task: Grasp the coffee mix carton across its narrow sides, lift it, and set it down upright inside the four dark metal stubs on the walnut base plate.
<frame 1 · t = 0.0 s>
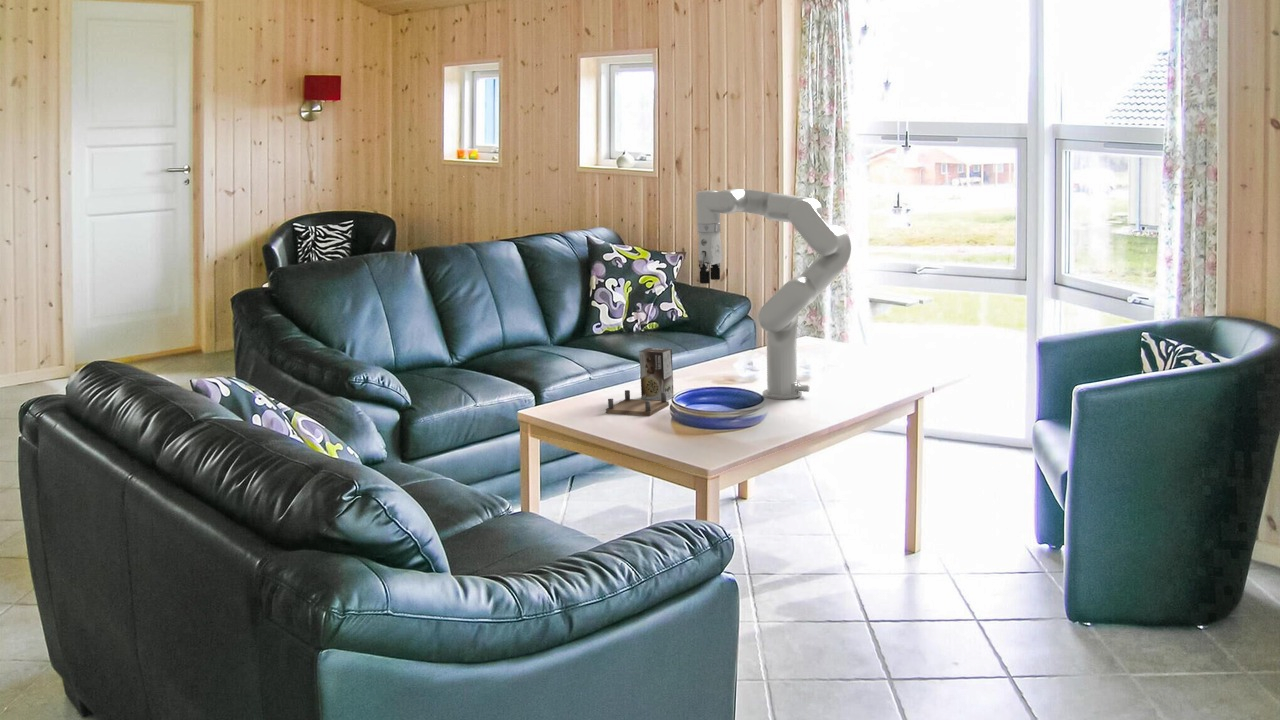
hand: (710, 281, 393), 37 cm above the table, tool pointing down, fingers open, 9 cm apart
coffee box: (657, 398, 393), on the table
stub cradle: (637, 409, 379), on the table
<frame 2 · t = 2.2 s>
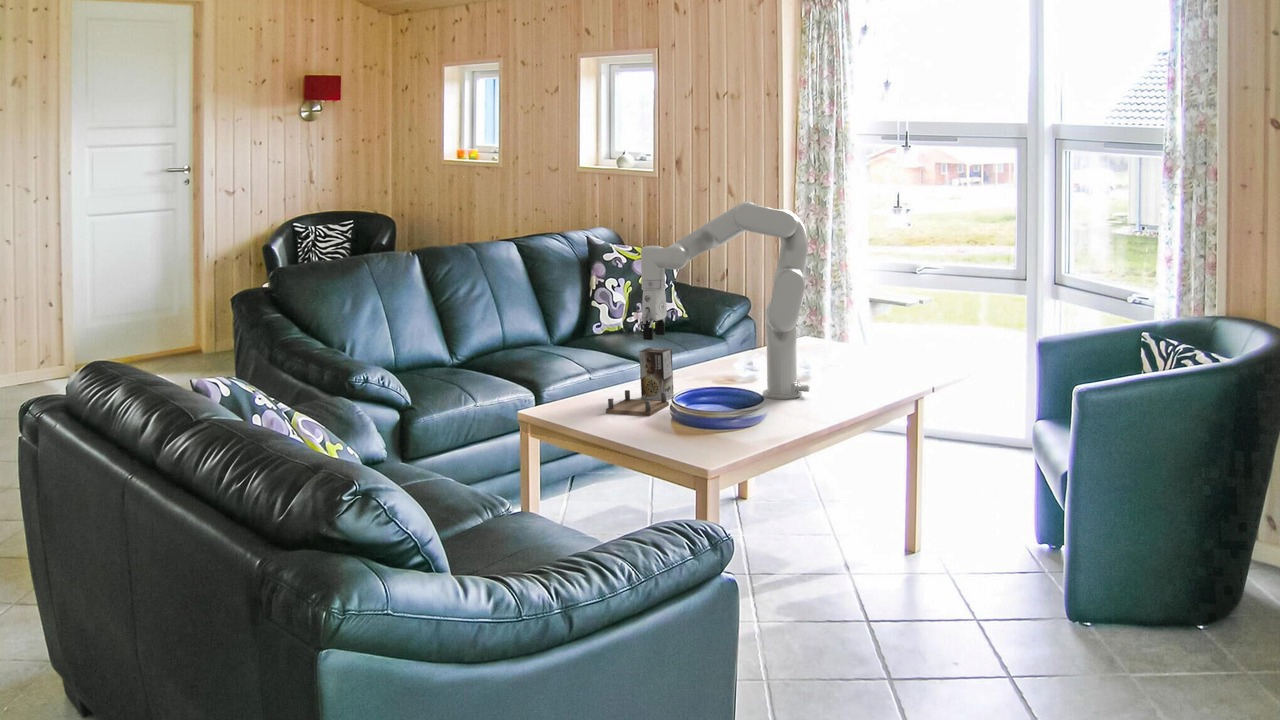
hand: (654, 337, 390), 20 cm above the table, tool pointing down, fingers open, 9 cm apart
nothing on the table moved.
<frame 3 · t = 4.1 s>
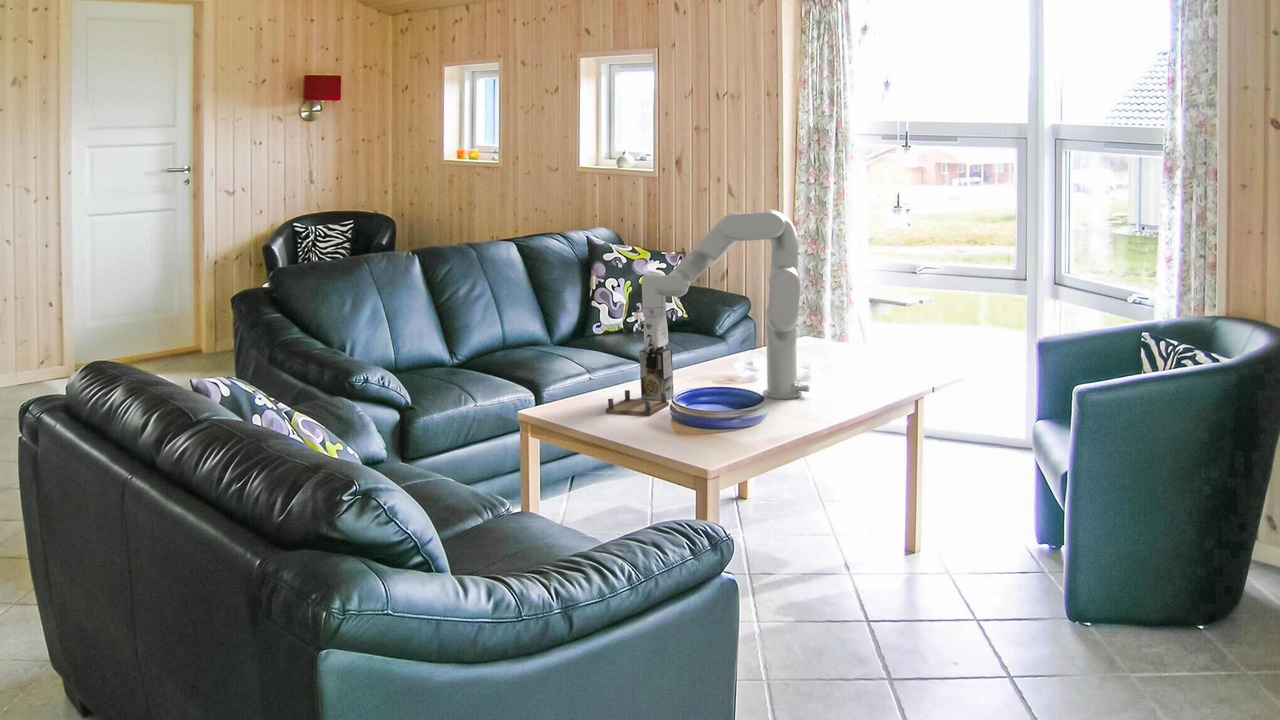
hand: (656, 365, 391), 11 cm above the table, tool pointing down, fingers closed on coffee box, 6 cm apart
coffee box: (657, 398, 393), on the table, touching gripper
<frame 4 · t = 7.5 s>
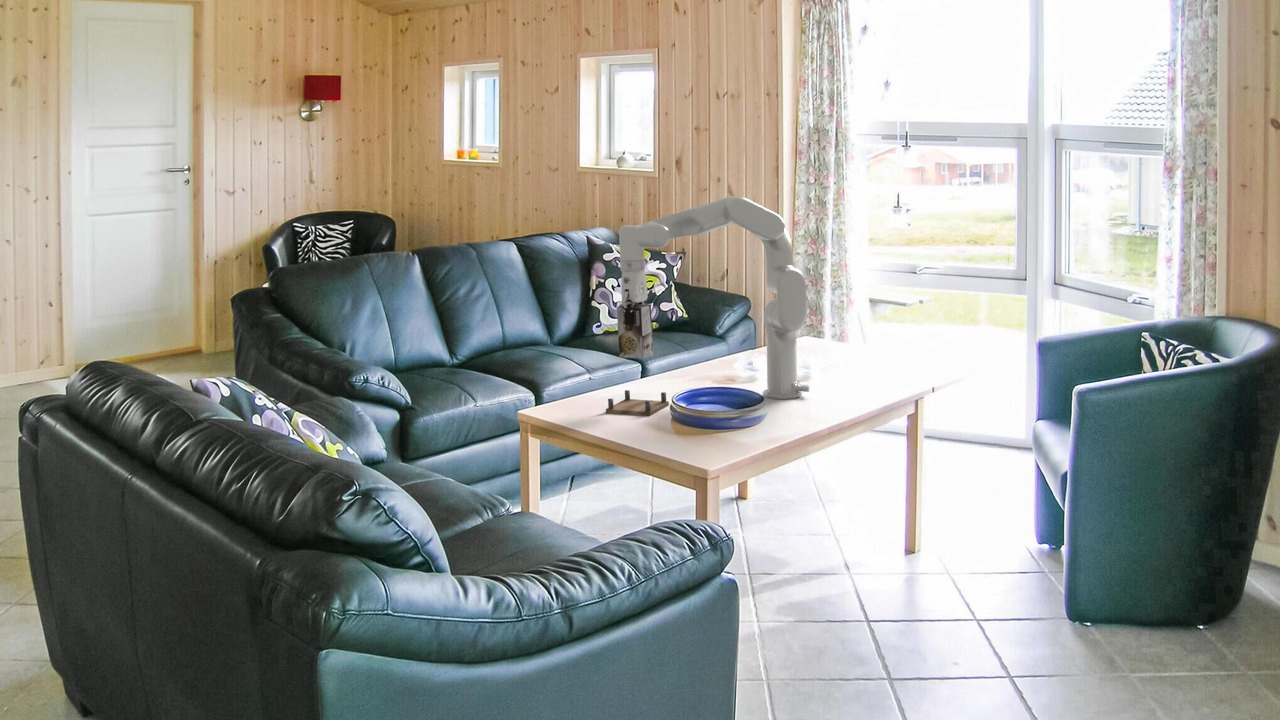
hand: (634, 322, 374), 28 cm above the table, tool pointing down, fingers closed on coffee box, 6 cm apart
coffee box: (636, 357, 376), point 17 cm above the table, touching gripper
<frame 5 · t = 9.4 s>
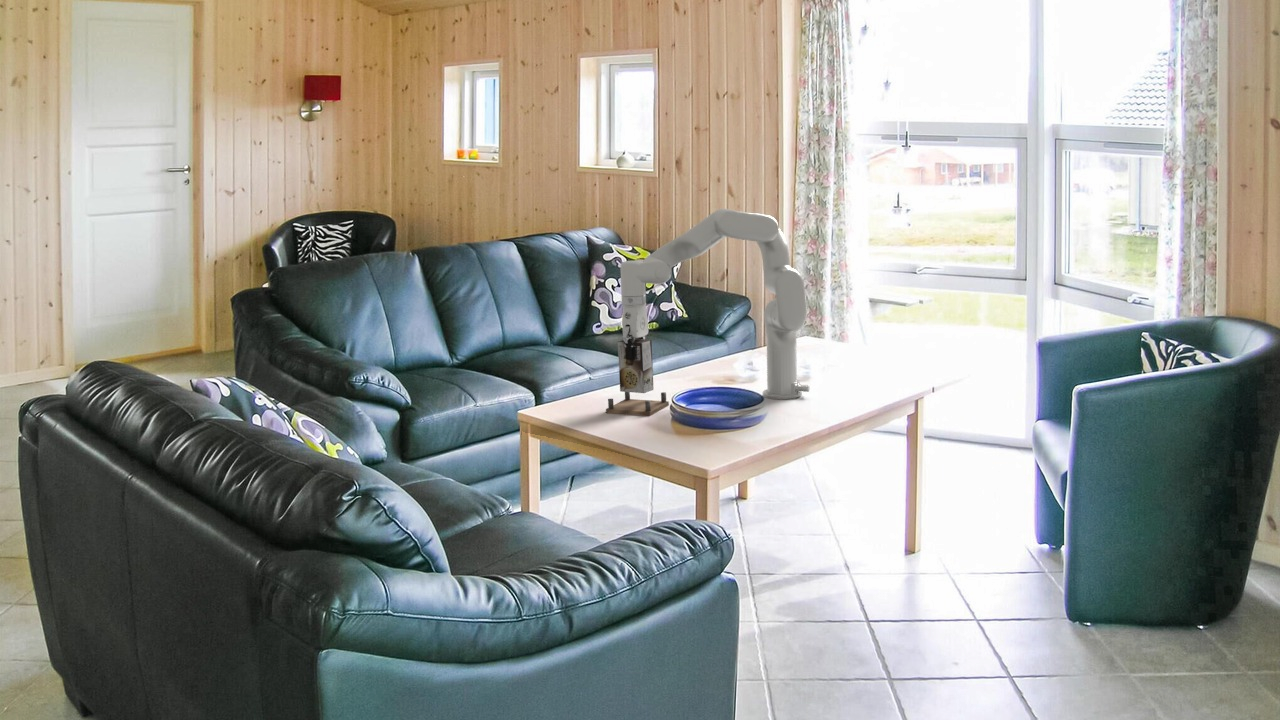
hand: (635, 357, 376), 17 cm above the table, tool pointing down, fingers closed on coffee box, 6 cm apart
coffee box: (636, 391, 378), point 6 cm above the table, touching gripper
when the fingers open (13 cm above the table, at t = 11.1 s): coffee box drops 1 cm, resting on stub cradle.
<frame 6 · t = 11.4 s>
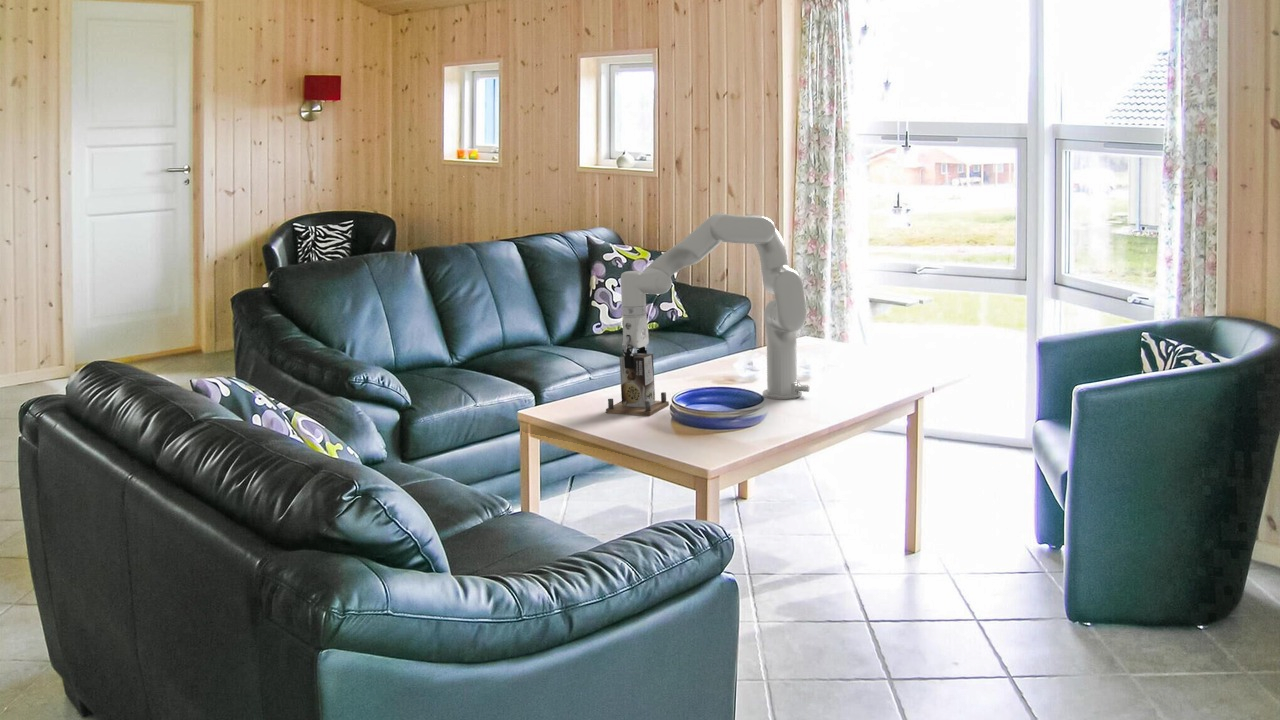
hand: (636, 365, 376), 14 cm above the table, tool pointing down, fingers open, 9 cm apart
coffee box: (638, 405, 379), point 1 cm above the table, touching stub cradle
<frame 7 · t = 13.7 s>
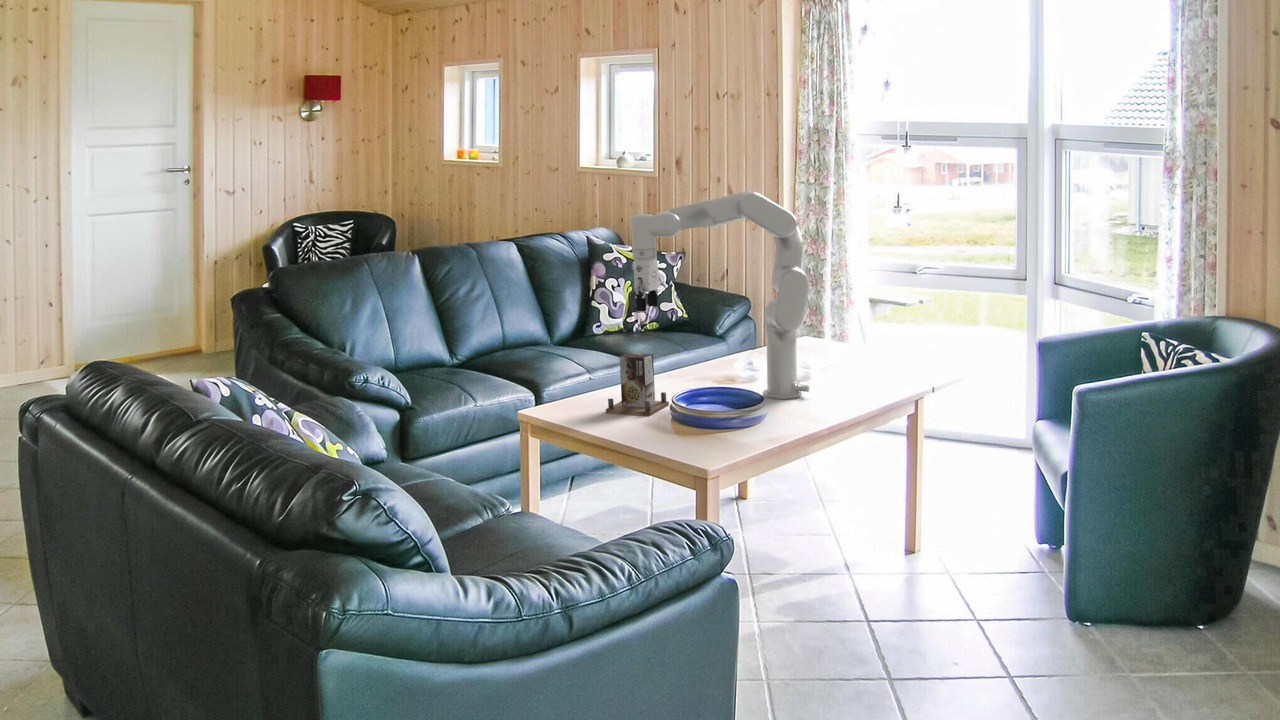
hand: (647, 308, 379), 31 cm above the table, tool pointing down, fingers open, 9 cm apart
nothing on the table moved.
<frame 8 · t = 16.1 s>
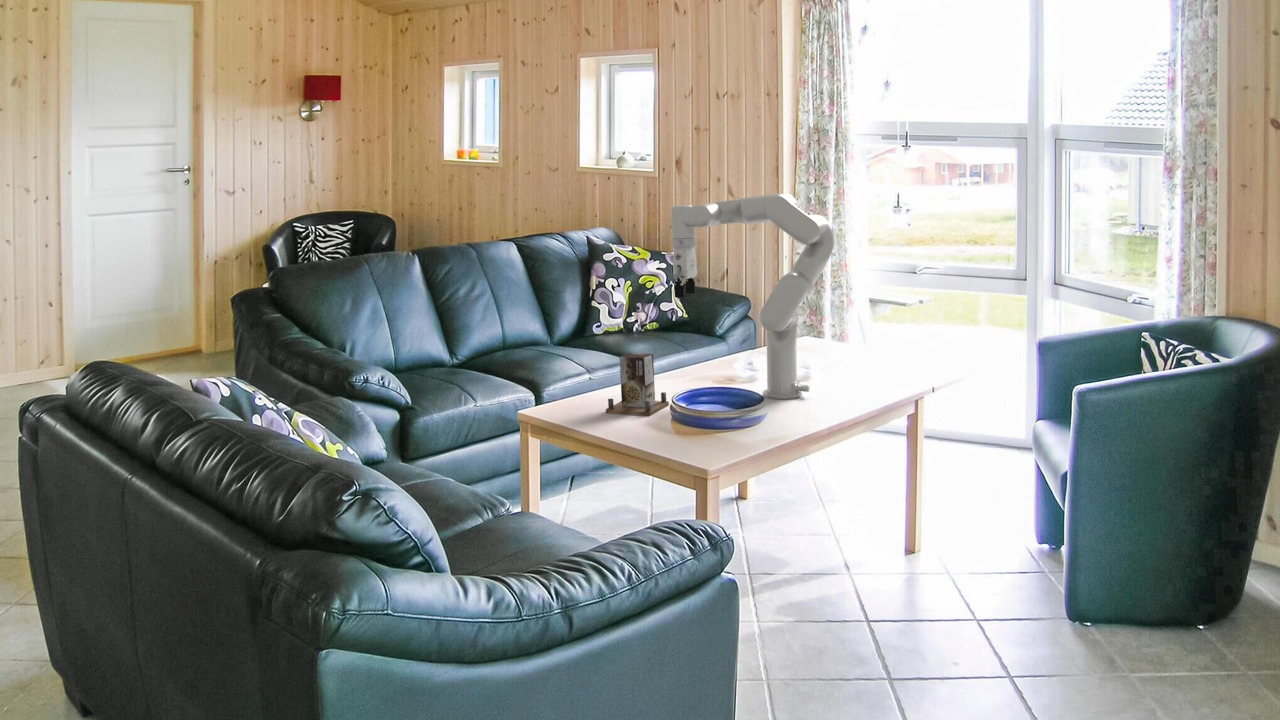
hand: (685, 295, 396), 32 cm above the table, tool pointing down, fingers open, 9 cm apart
nothing on the table moved.
at the end: coffee box 0.3 cm off-centre on the stub cradle, point 1.0 cm above the stub cradle's base; coffee box tilted 0°; the gripper is holding nothing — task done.
